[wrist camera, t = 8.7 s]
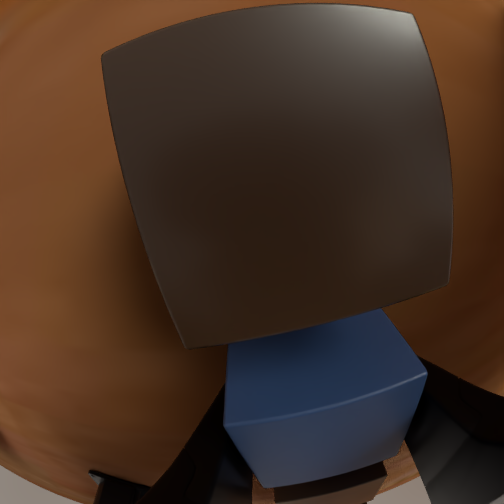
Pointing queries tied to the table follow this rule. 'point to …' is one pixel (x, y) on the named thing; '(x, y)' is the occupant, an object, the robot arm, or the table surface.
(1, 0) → the table surface
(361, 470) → the walnut block
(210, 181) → the walnut block
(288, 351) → the blue block
